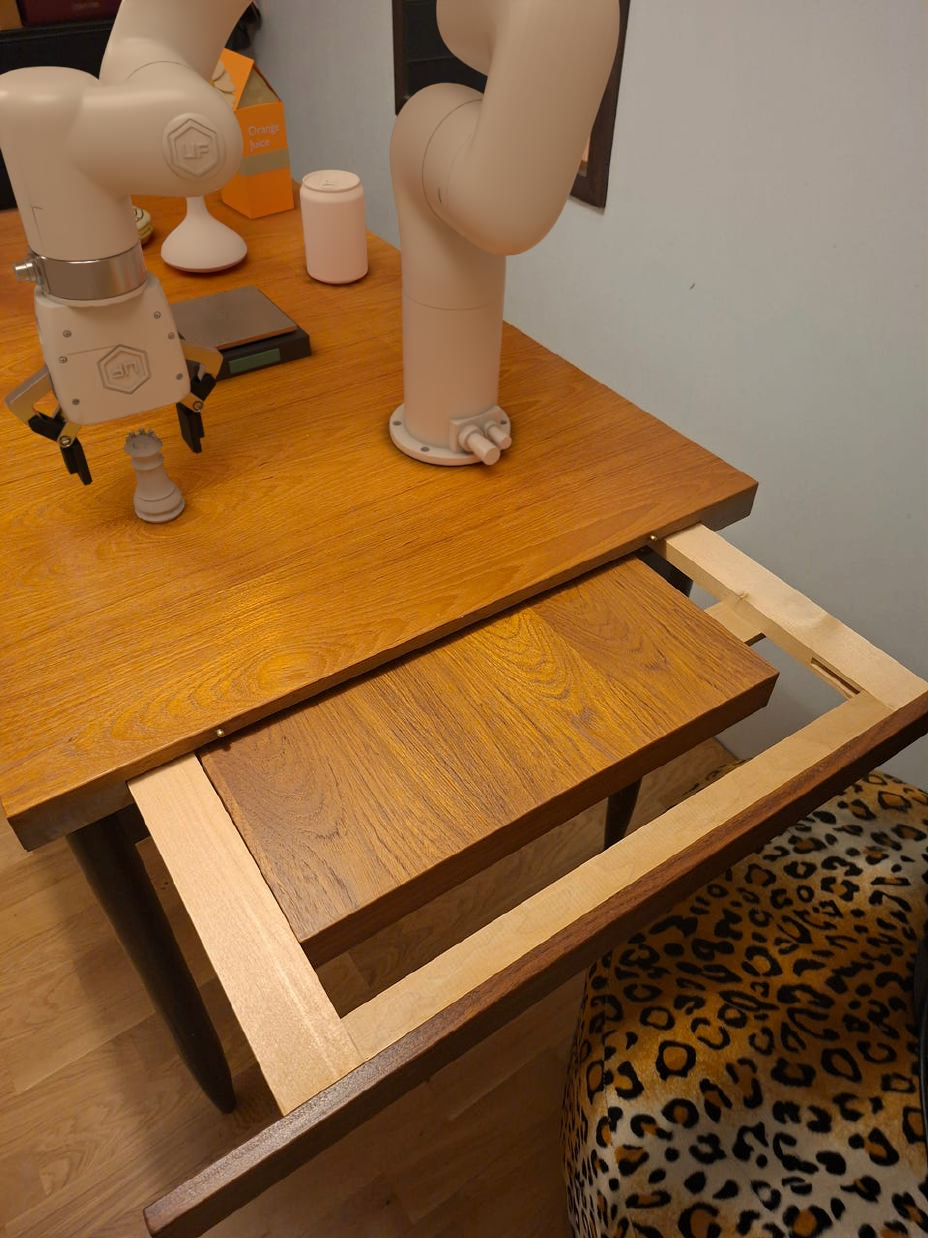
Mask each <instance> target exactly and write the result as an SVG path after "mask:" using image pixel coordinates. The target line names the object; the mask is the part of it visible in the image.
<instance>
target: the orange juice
mask: <svg viewBox="0 0 928 1238" xmlns="http://www.w3.org/2000/svg"><path fill="white" fill-rule="evenodd" d="M219 61H222V62H223V64H224V66H225V68H224V69H226V70H227V72H228V74H230V76H231V79H232V80H231V83H233V84H234V85H235V91H234V92H232V93H233V95H234V97H235V98H236V102H235V103H233V106H234V108H233V109H232V110H233V112H234V114H235V115H236V118H237V120H238V122H239V126H240V129H241V133H242V139H243V153H242V158H241V163H240V165H239V168H238V170H237V172H236V173H235V175H234V177H233V178H232V179H231V180H230V181H229V182H228V183H227V184H226V185H225V186H224V187H222V188H221V189H220V194H221V201H222V203H224V204H225V205H227V206H229V207H231V209H234V210H235V211H237V212H238V213H240V214H241V215H243V216H245V217H247V218H249V219H250V220H255V219H258V218H263V217H266V216H270V215H274V214H278V213H282V212H285V211H290V210H293V209H295V202H294V193H293V185H292V184H293V183H292V174H291V173H292V172H291V161H290V150H289V145H288V144H289V143H288V136H287V125H286V117H285V116H286V115H285V107H284V101H282V100H281V98H280V97H279V95H278V94H277V92H276V90H275V89H274V88H273V87H272V85H271V84H270V83H269V81H268V79H267V78H266V77H265V75H264V74H263V73H262V71H261V70H260V68H259V67H258V65H257V64H256V62H255V60H254V59H252V58H250V57H248V56H245V55H242V54H240V53H238V52H236V51H233V50H231V49H228V48H226V47H224V49H223V51H222V54H221V56H220V59H219Z"/></svg>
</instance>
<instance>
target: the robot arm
mask: <svg viewBox="0 0 928 1238" xmlns="http://www.w3.org/2000/svg"><path fill="white" fill-rule="evenodd" d="M253 1H254V0H121V2H120V5H119V8H118V11H117V14H116V17H115V20H114V23H113V26H112V29H111V32H110V35H109V39H108V41H107V44H106V47H105V51H104V54H103V57H102V61H101V64H100V71H99V76H98V78H97V77H96V76H94V75H92V74H91V73H89V72H86V71H83V70H80V69H76V68H71V67H64V66H31V67H30V66H29V67H22V68H17V69H13V70H9V71H7V72H5V73H2V74H0V151H1V155H2V159H3V161H4V164H5V167H6V171H7V174H8V179H9V181H10V184H11V185H10V186H11V188H12V192H13V195H14V199H15V201H16V206H17V209H18V212H19V215H20V219H21V223H22V227H23V229H24V233H25V235H26V240H27V245H26V246H27V250H28V253H26V257H27V258H22V261H16V262H12V264H11V265H12V269H13V272H14V274H15V277H16V279H17V282H18V283H21V284H22V283H26V282H30V283H36V284H37V285H35V287H34V289H33V303H34V313H35V314H34V315H35V321H36V322H35V323H36V328H37V329H36V330H37V334H38V338H39V344H40V349H41V353H42V358H43V362H44V365H43V366H42V367H41V368H39V369H38V370H37V371H36V372H34V373H33V374H31V376H29V377H28V378H27V379H25V380H24V381H23V382H21V383H20V384H19V385H18V386H17V387H16V388H14V389H13V390H12V391H10V392H9V393H8V394H7V395H6V396H5V397H4V403H5V405H6V406H7V408H8V410H9V412H11V413H12V414H13V415H14V416H15V417H17V418H18V419H19V420H20V421H21V422H22V423H23V424H25V425H26V426H27V427H28V428H29V429H30V430H31V431H32V432H33V433H35V434H36V435H37V434H38V435H40V436H42V437H44V438H47V439H48V440H51V441H53V442H55V443H57V444H58V447H59V450H60V454H61V456H62V459H63V462H64V465H65V467H66V470H67V472H68V473H69V475H70V476H71V475H75V474H77V476H78V477H79V479H80V481H81V482H82V484H83V486H84V487H87V486H90V485H92V483H93V482H94V481H93V477H92V474H91V471H90V468H89V465H88V460H87V458H86V455H85V451H84V447H83V446H82V443H81V441H80V440H79V438H78V434H79V432H80V430H81V429H82V427H91V426H96V425H101V424H106V423H109V422H114V421H116V420H121V419H125V418H129V417H133V416H137V415H140V414H144V413H148V412H152V411H156V410H159V409H162V408H166V407H170V406H174V405H175V409H176V415H177V419H178V424H179V428H180V433H181V437H182V440H183V441H184V442H185V444H186V445H187V447H188V448H189V449H190V450H191V452H192V453H193V454H196V455H198V454H201V453H203V447H202V442H201V439H203V438H205V437H206V434H205V429H204V423H203V418H202V411H203V410H204V409H205V405H206V404H205V401H206V400H207V398H208V397H209V396H210V394H211V393H212V391H213V390H214V388H215V387H216V385H217V381H216V380H215V379H216V376H217V375H218V373H219V370H220V367H221V364H222V361H223V356H222V354H221V353H220V352H219V351H218V350H217V349H216V348H215V347H211V346H207V345H203V344H199V343H195V342H191V341H187V340H183V339H179V335H178V332H177V328H176V325H175V322H174V319H173V315H172V312H171V309H170V306H169V305H170V304H169V300H168V299H167V296H166V293H165V291H164V288H163V286H162V283H161V281H160V279H159V278H158V277H157V276H156V275H155V274H154V273H153V272H151V271H150V270H148V269H147V268H146V264H145V258H144V255H143V248H142V246H141V244H140V239H139V234H138V229H137V224H136V219H135V214H134V209H133V206H134V205H133V201H132V196H133V195H134V196H147V197H148V196H150V197H162V198H179V199H180V198H183V199H184V198H185V199H186V198H188V197H199V196H203V197H204V196H207V195H210V194H213V193H216V192H218V191H219V190H221V188H222V187H224V186H225V185H226V184H227V183H228V182H229V181H230V180H231V179H232V178H233V177H234V175H235V173H236V172H237V170H238V168H239V165H240V163H241V158H242V153H243V139H242V133H241V129H240V126H239V122H238V120H237V118H236V115H235V114H234V112H233V110H232V108H231V107H230V106H229V104H228V103H227V101H226V100H225V99H224V98H223V96H222V95H221V94H220V93H219V92H218V91H217V90H216V89H215V88H214V87H213V86H211V85H210V82H211V79H212V76H213V74H214V71H215V69H216V66H217V64H218V61H219V59H220V56H221V54H222V51H223V49H224V48H226V44H227V43H228V40H229V38H230V36H231V34H232V32H233V31H234V29H235V27H236V25H237V23H238V22H239V21H240V19H241V17H242V16H243V14H244V13H245V12H246V10H247V8H248V7H249V6H250V5H251V4H252V3H253ZM435 9H436V10H435V11H436V12H435V13H436V24H437V28H438V32H439V34H440V37H441V39H442V41H443V43H444V44H445V46H446V47H447V48H448V50H449V51H450V52H451V54H453V56H455V57H456V58H457V59H458V60H460V61H461V62H462V63H463V64H465V65H467V66H468V67H470V68H472V69H473V70H475V71H477V72H479V73H480V74H482V75H485V76H487V80H486V84H485V88H484V92H483V93H482V92H481V91H479V90H477V89H474V88H472V87H469V86H466V85H464V84H460V83H452V82H440V83H435V84H431V85H428V86H426V87H423V88H422V89H420V90H418V91H417V92H415V94H413V95H412V96H411V97H410V98H409V99H408V100H407V101H406V102H405V104H404V105H403V106H402V108H401V109H400V111H399V112H398V115H397V116H396V119H395V122H394V124H393V128H392V132H391V136H390V142H389V143H390V144H389V170H390V180H391V186H392V193H393V198H394V203H395V204H394V205H395V209H396V210H395V211H396V214H397V223H398V233H399V243H400V262H401V264H400V267H401V268H400V269H401V324H402V329H401V330H402V369H403V403H401V404H400V405H399V406H398V407H396V409H394V410H393V412H392V414H391V416H390V418H389V424H388V425H389V436H390V439H391V440H392V442H393V444H394V445H395V446H396V447H397V449H398V450H400V451H401V452H402V453H404V454H405V455H407V456H408V457H411V458H413V459H415V460H418V461H421V462H423V463H427V464H431V465H438V466H448V467H449V466H464V465H473V464H475V463H480V462H483V464H485V465H486V466H491V465H494V464H495V463H496V462H498V460H499V459H500V456H501V451H503V450H506V449H508V448H509V447H510V446H511V444H512V442H513V440H512V439H513V438H512V437H511V421H510V418H509V416H508V414H507V413H506V412H505V410H503V408H501V406H499V405H498V400H499V399H498V398H499V386H500V367H501V355H502V338H503V323H504V307H505V294H506V293H505V291H506V284H507V283H506V280H507V257H510V256H517V255H520V254H523V253H525V252H527V251H529V250H531V249H533V248H534V247H535V246H537V245H538V244H539V243H541V242H542V240H544V238H546V237H547V235H548V234H549V233H550V232H551V230H552V229H553V228H554V227H555V224H556V223H557V221H558V220H559V218H560V216H561V215H562V213H563V210H564V208H565V206H566V204H567V201H568V200H569V197H570V194H571V191H572V189H573V186H574V184H575V183H574V182H575V180H576V177H577V174H578V172H579V169H580V165H581V163H582V160H583V156H584V154H585V151H586V147H587V145H588V142H589V139H590V136H591V134H592V130H593V127H594V124H595V121H596V117H597V114H598V112H599V109H600V105H601V102H602V100H603V97H604V93H605V91H606V88H607V85H608V81H609V78H610V75H611V71H612V69H613V65H614V62H615V57H616V54H617V49H618V43H619V35H620V21H621V19H620V18H621V13H620V10H621V9H620V0H436V8H435ZM185 359H187V360H191V361H195V362H199V363H200V366H199V367H200V369H199V370H198V371H197V372H196V373H195V375H194V376H193V378H192V379H190V378H189V374H188V369H187V365H186V361H185ZM51 391H52V393H53V396H54V398H55V399H56V400H57V401H58V404H57V405H56V407H55V409H54V411H53V413H52V415H51V416H49V415H47V414H45V413H43V412H41V411H39V410H36V408H34V405H35V404H36V403H37V402H38V401H40V400H41V399H42V398H43V397H44V396H46V395H47V394H49V393H50V392H51Z"/></svg>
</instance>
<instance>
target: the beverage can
mask: <svg viewBox="0 0 928 1238" xmlns="http://www.w3.org/2000/svg"><path fill="white" fill-rule="evenodd" d="M365 198H366V197H365V190H364V187H363V185H362V184H361V180H360V177H359V176H358V175H357V174H355V173H353V172H350V171H346V170H341V169H340V170H339V169H323V170H316V171H313V172H310V173H308V174H306V175H304V176H303V177H302V184H301V186H300V188H299V200H300V201H299V202H300V210H301V220H302V222H301V223H302V230H303V240H304V241H303V242H304V251H305V262H306V271H307V273H308V275H309V276H310V277H311V278H313V279H315V280H317V281H320V282H323V283H326V284H331V285H345V284H349V283H352V282H355V281H357V280H359V279H361V278H362V277H365V275H366V274H367V273H368V270H369V266H368V264H369V262H368V243H367V223H366V221H367V220H366V201H365Z"/></svg>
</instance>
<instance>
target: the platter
mask: <svg viewBox="0 0 928 1238" xmlns="http://www.w3.org/2000/svg"><path fill="white" fill-rule="evenodd" d="M258 289H259V288H257V287H256V286H255V285H247V286H243V287H239V288H235V289H231V290H227V291H226V290H225V291H222V292H217V293H214V294H209V295H205V296H201V297H196V298H192V299H188V300H183V301H178V302H175V303H171V304H169V306H170V309H171V312H172V315H173V319H174V322H175V325H176V328H177V332H178V335H179V336H180V337H181V338H182V339H183V340H187V341H191V342H195V343H199V344H203V345H207V346H211V347H215V348H216V349H217V350H218V351H220V350H223V349H227V348H231V347H235V346H239V345H243V344H246V343H250V342H254V341H258V340H262V339H265V338H269V337H273V336H277V335H281V334H284V333H288V332H292V331H296V330H297V325H296V324H297V323H296V322H295V321H294V320H293V319H292V318H291V317H290V316H289V317H290V318H291V319H292V320H293V321H294V322H295V323H296V324H295V323H294V322H293V321H292V320H291V319H290V318H289V317H287V316H286V315H285V314H284V313H285V312H284V311H283V310H282V309H281V308H280V307H279V306H278V305H277V306H278V307H279V308H280V309H281V310H282V311H283V312H284V313H283V312H282V311H281V310H280V309H279V308H278V307H277V306H275V305H274V304H273V303H274V302H273V301H272V300H271V299H270V298H269V297H268V296H267V295H266V296H267V297H268V298H269V299H270V300H271V301H272V302H273V303H272V302H271V301H270V300H269V299H268V298H267V297H266V296H264V295H263V294H262V293H261V292H262V291H261V290H260V289H259V290H260V291H261V292H260V291H259V290H258Z"/></svg>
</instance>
